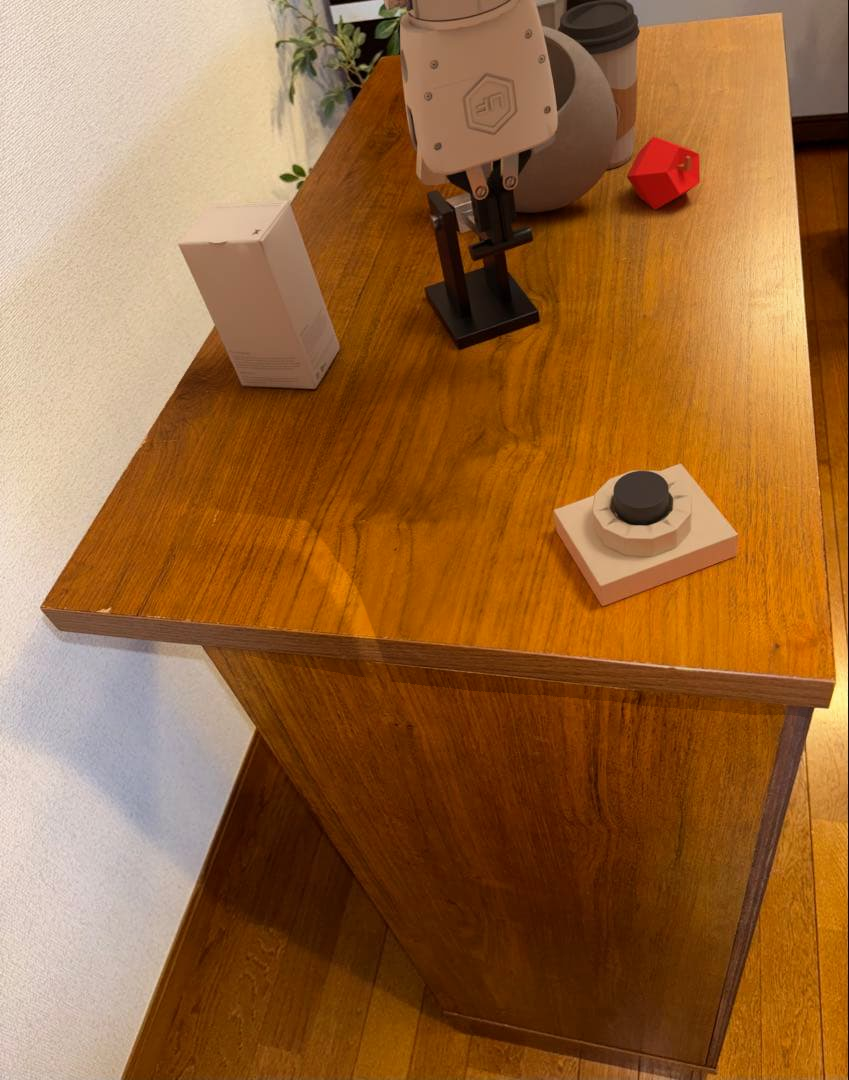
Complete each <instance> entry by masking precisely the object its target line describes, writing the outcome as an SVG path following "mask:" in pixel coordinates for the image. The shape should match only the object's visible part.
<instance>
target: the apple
mask: <svg viewBox="0 0 849 1080" xmlns="http://www.w3.org/2000/svg"><path fill="white" fill-rule="evenodd" d="M700 174H701V173H700V153H698V152H696V151H694V150H693V149H690V148H688V147H686V146H682V145H680V144H677V143H674V142H672V141H670V140H667V139H663V138H661V137H657V136H654V135H653V136H652V137H651V138H650V140H648V141H647V143H646V144H644V146H643V147H642V148H641V149H640V150H639V151H638V153H637V154H636V156H635V159H634V161H633V163H632V165H631V166H630V169H629V171H628V172H627V175H626V178H627V179H628V181H629V183H630V184H631V186H632V187H633V189H634V191H635V192H636V194H637V195H638V198H640V199H641V201H644V202H645V203H646V204H647V205H648V206H650V207H651V208H652V209H653V210H654V211H655V210H658V209H659V208H661V207H663V206H665V205H666V204H668V203H670V202H672V201H674V200H675V199H677V198H679V197H681V196H683V195H684V194H686V193H688V192H689V191H691V190H692V189H693V188H694V187H696V186H697V185H699V184H700V182H701V181H700V180H701V178H700V177H701V176H700Z"/></svg>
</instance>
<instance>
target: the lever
mask: <svg viewBox="0 0 849 1080" xmlns="http://www.w3.org/2000/svg"><path fill="white" fill-rule="evenodd" d="M445 201H446V202H447V203H448V205H449V206H450V207H451V209H452V210H453V214H454V220H455V225H456V230H457V233H459V234H461V235H462V234H464V233H468V232H470V231H472V232H473V233H474V234H475V235H476V236H478V238H479V237H480V238H481V239H482V240H483V241H477V242H474V243H472V244H470V245H468V252H469V255H470V258H471V260H472V261H473V262H474V263H475V262H477V261H480V260H483V258H486V257H489V256H492V255H495V254H498V253H501V252H504V251H505V252H507V251H509V250H512V249H515V248H519V247H521V246H525V245H527V244H530V243H532V242H533V241H534V235H533V231H532V229H531V226H530V225H528V224H527V225H524V226H520V227H518V228H515V229H513V235H514V238H513V239H510V240H506V239H505V240H504V239H503V240H502V241H501V243H498V244H495V245H494V244H493V243H492V241H491V240H490V239H489V238H488V236H487V235H486V234H485V232H482V233H480V232H479V231H478V230H477V228H476V225H475V221H474V216H473V210H472V204H471V198H470V193H468V192H465V193H462V194H459V195H456V196H453V197H449V198H447V199H445Z"/></svg>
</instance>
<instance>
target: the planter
mask: <svg viewBox="0 0 849 1080" xmlns="http://www.w3.org/2000/svg"><path fill="white" fill-rule="evenodd" d="M542 29H543V34H544V38H545V43H546V47H547V52H548V57H549V63H550V68H551V73H552V79H553V85H554V91H555V98H556V106H557V117H558V124H557V130H556V132H555V136H556V138H555V141H554V142H553V143H552V144H551V145H549V146H548V147H546V148H544V149H543V150H541V151H539V152H538V153H536V154H533V155H531V157H530V159H529V160H528V162H527V163H526V165H525V166H524V168H523V169H522V171H521V172H520V174H519V176H518V183H517V186H516V187H515V188H514V189H513V193H514V200H515V208H516V213H524V214H535V213H536V214H537V213H545V212H551V211H554V210H557V209H560V208H564V207H565V206H568V205H570V204H572V203H574V202H575V201H577V200H579V199H580V198H582V197H583V196H585V195H586V194H587V193H589V191H590V190H592V189H593V188H594V187H595V185H596V184H597V183H599V181H600V180H601V178H602V177H603V175H604V174H605V172H606V170H608V169H607V167H608V165H609V162H610V160H611V157H612V154H613V151H614V147H615V142H616V135H617V114H616V108H615V103H614V98H613V95H612V92H611V89H610V86H609V84H608V81H607V79H606V77H605V75H604V73H603V72H602V70H601V68H600V67H599V65H598V64H597V63H596V61H595V60H594V59H593V57H592V56H591V55H590V54H589V53H588V52H587V51H586V50H585V49H584V48H583V47H582V46H581V45H580V44H579V43H577V42H576V41H575V40H573V39H572V38H570V37H569V36H567V35H565V34H563V33H561V32H559V31H557V30H554V29H552V28H549V27H545V26H542ZM481 167H482V170H483V173H484V176H485V180H486V182H488V181H487V178H488V177H490V174H491V162H490V163H487V164H484V165H481Z"/></svg>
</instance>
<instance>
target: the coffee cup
mask: <svg viewBox="0 0 849 1080" xmlns="http://www.w3.org/2000/svg"><path fill="white" fill-rule="evenodd" d="M557 31H559V32H561V33H563V34H565V35H567V36H569V37H570V38H572V39H573V40H575V41H576V42H577V43H579V44H580V45H581V46H582V47H583V48H584V49H585V50H586V51H587V52H588V53H589V54H590V55H591V56H592V57H593V59H594V60H595V61H596V63H597V64H598V65H599V67H600V68H601V70H602V72H603V73H604V75H605V77H606V79H607V81H608V84H609V86H610V89H611V92H612V95H613V98H614V103H615V108H616V114H617V135H616V142H615V147H614V151H613V154H612V157H611V160H610V162H609V165H608V167H607V169H606V170H612V169H615V168H618V167H621V166H623V165H624V164H626V163H628V162H629V161H630V160H631V158H632V156H633V153H634V151H635V143H636V142H635V139H636V121H637V106H638V105H637V103H638V102H637V100H638V75H637V73H638V71H637V70H638V41H639V40H638V39H639V38H638V37H639V35H640V33H641V31H640V27H639V19H638V15H636V14H635V11H634V6H633V4H632V3H630V2H628V1H626V0H598V1H593V2H588V3H584V4H581V5H578V6H576V7H573V8H571V9H570V10H568V11H566V12H565V13H564V14H563V15H562V16H561V18H560V26H559V28H558V30H557Z"/></svg>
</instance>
